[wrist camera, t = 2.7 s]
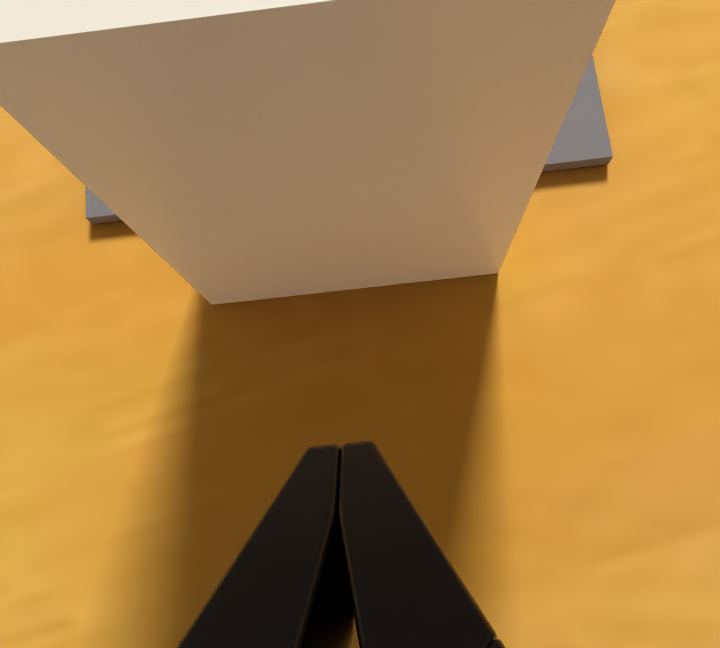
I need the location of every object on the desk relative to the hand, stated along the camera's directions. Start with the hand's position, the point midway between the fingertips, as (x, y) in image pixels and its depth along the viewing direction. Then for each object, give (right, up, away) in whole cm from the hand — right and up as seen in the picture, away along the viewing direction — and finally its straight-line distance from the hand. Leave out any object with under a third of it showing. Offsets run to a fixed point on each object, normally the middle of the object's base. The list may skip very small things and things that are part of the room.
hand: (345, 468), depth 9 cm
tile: (0, +4, +8) cm, 9 cm away
